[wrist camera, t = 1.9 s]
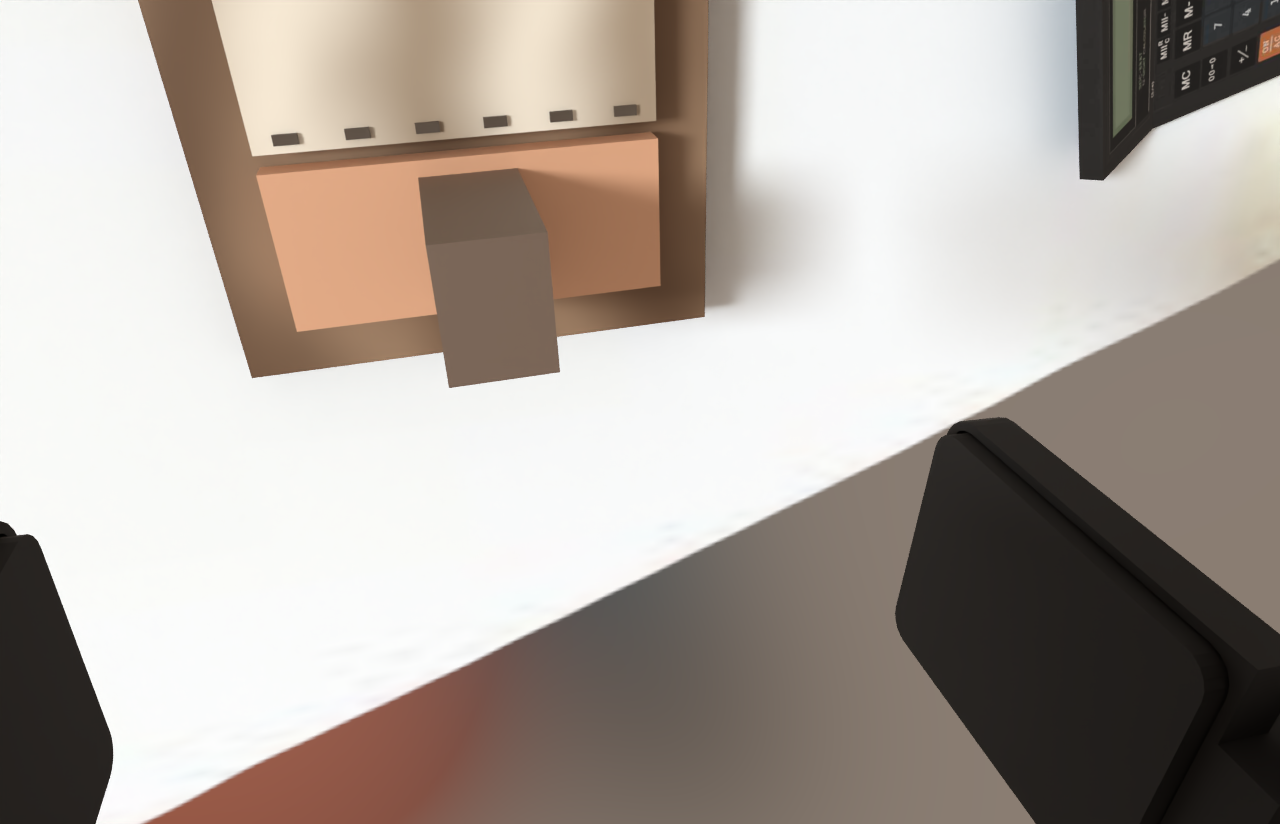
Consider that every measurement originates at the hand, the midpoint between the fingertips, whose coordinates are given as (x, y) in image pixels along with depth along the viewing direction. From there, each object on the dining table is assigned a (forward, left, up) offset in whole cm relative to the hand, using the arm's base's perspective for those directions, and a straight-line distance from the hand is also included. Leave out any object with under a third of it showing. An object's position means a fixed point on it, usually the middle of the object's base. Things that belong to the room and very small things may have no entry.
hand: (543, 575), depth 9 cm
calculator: (-28, -2, -23) cm, 36 cm away
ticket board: (-1, 0, -22) cm, 22 cm away
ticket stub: (-1, +3, -20) cm, 21 cm away
